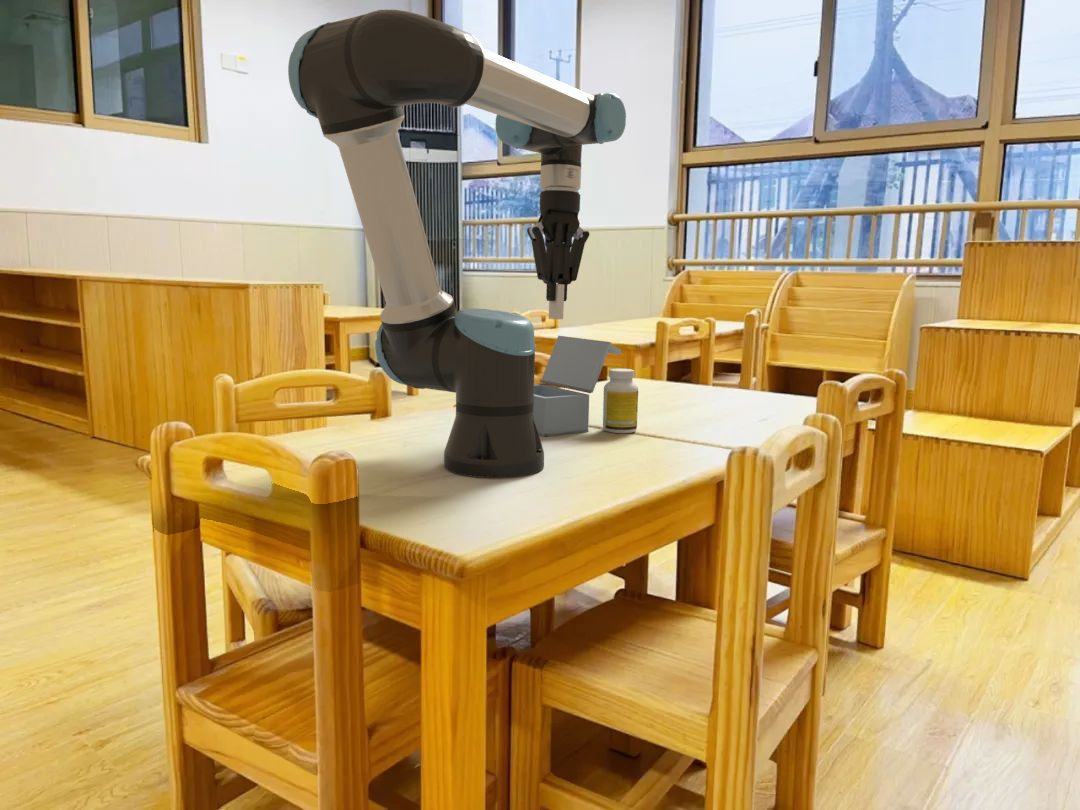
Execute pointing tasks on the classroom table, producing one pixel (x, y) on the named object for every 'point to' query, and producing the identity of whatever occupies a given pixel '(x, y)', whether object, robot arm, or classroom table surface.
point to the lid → (577, 363)
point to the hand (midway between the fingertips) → (555, 318)
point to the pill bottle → (620, 402)
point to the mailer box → (560, 411)
